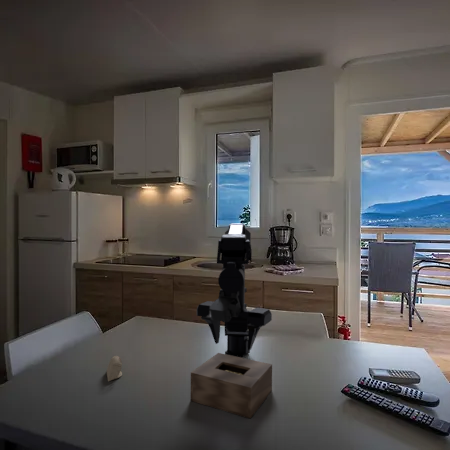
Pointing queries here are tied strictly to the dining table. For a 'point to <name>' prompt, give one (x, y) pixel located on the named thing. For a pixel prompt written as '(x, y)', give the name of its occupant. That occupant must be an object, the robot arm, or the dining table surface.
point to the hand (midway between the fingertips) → (232, 346)
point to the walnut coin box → (232, 384)
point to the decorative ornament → (114, 368)
